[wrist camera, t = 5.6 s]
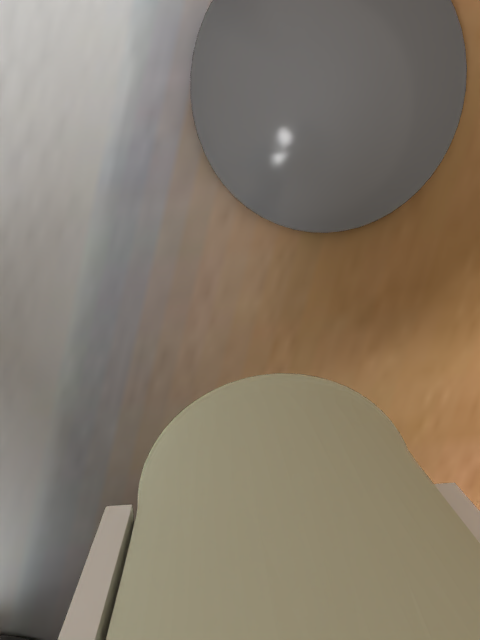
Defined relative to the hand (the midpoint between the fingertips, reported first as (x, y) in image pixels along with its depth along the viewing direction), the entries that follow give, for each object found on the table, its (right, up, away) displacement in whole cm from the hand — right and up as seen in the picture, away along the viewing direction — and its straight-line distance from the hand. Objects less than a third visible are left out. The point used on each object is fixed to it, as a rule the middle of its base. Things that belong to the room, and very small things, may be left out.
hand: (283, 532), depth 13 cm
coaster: (+3, +17, +6) cm, 18 cm away
